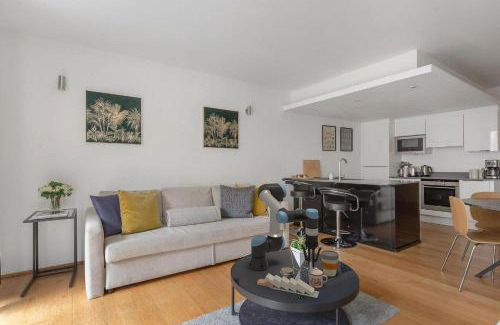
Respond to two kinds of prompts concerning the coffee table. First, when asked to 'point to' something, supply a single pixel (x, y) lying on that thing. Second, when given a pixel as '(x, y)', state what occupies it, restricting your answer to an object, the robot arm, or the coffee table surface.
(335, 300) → the coffee table surface
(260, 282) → the domino
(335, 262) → the reusable coffee cup
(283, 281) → the domino
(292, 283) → the domino
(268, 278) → the domino
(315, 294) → the strip
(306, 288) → the domino
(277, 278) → the domino
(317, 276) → the teacup with lid
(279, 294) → the coffee table surface
